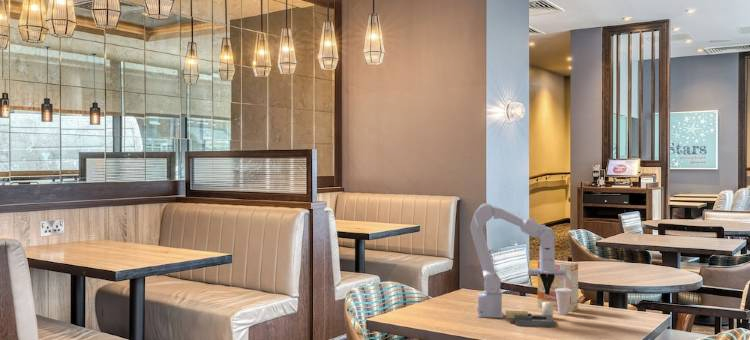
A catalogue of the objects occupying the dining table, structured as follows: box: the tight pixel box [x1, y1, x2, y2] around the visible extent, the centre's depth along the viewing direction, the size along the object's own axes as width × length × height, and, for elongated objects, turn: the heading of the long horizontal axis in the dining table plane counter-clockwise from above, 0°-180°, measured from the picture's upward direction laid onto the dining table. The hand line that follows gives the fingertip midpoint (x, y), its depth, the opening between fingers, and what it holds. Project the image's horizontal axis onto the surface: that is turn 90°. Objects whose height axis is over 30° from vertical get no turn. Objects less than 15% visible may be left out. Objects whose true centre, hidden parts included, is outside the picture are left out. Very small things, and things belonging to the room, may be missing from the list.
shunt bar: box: [505, 310, 529, 319], centre depth 245 cm, size 8×3×2 cm, turn 81°
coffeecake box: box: [537, 259, 579, 313], centre depth 269 cm, size 15×7×20 cm, turn 49°
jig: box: [513, 312, 555, 328], centre depth 244 cm, size 14×10×3 cm
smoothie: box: [555, 279, 572, 316], centre depth 259 cm, size 6×6×14 cm
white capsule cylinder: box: [541, 302, 554, 319], centre depth 252 cm, size 4×4×6 cm
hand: (547, 293), depth 252 cm, fingers closed
